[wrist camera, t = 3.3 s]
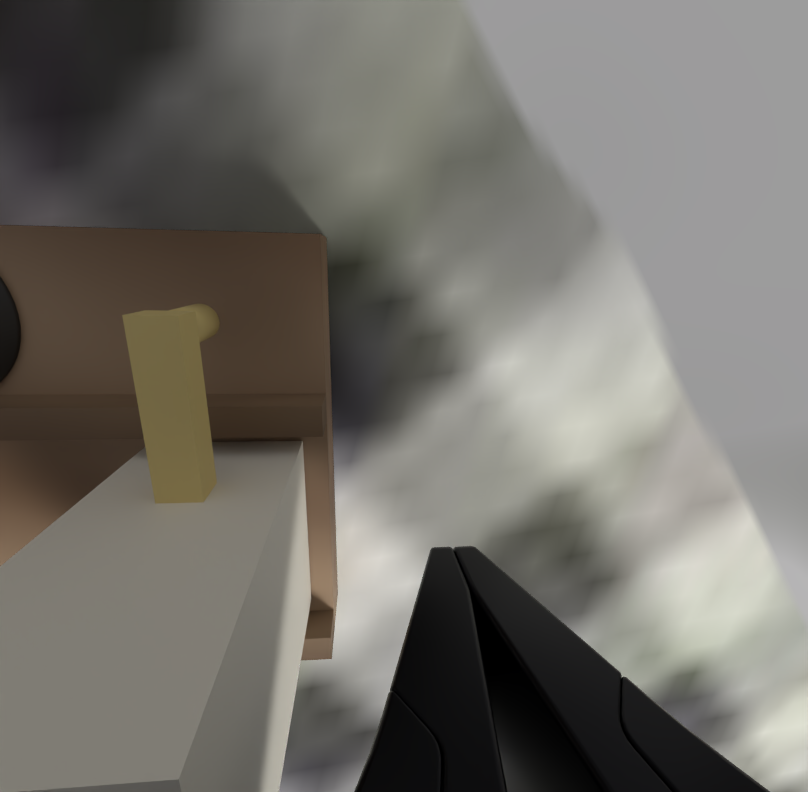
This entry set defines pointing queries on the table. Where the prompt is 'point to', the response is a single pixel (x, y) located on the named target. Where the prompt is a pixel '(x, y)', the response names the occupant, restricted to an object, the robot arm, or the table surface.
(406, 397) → the table surface
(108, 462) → the wooden peg rack
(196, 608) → the slider
